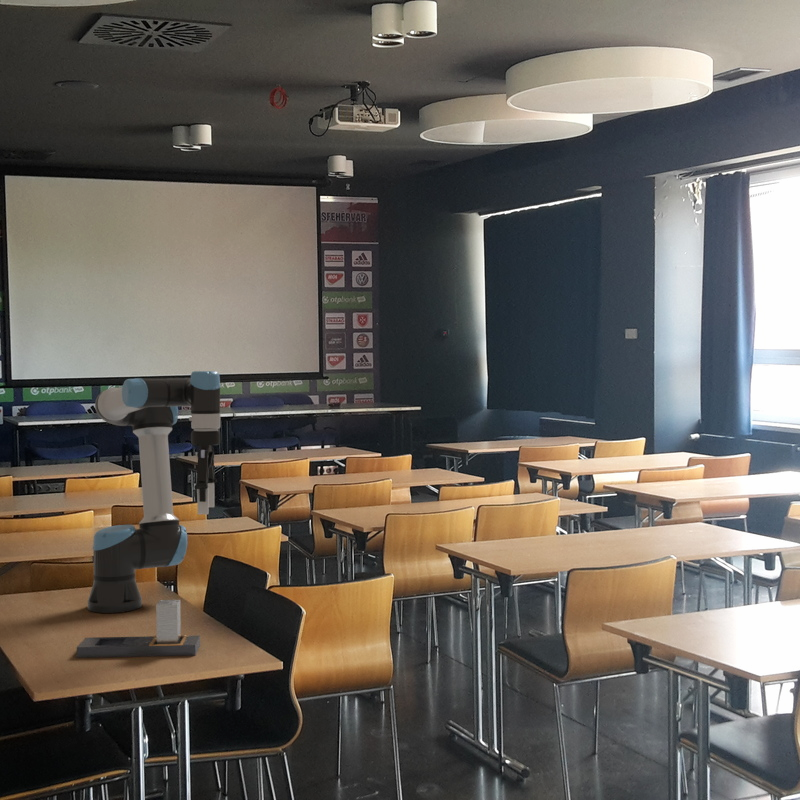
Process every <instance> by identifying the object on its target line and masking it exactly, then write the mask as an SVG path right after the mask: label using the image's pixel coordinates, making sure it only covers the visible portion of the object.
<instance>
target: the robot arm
mask: <svg viewBox="0 0 800 800" xmlns="http://www.w3.org/2000/svg"><path fill="white" fill-rule="evenodd" d="M221 384H222V383H221V378H220V373H219V372H218V371H215V370H212V371H211V370H198V371H197V370H194V371H192V372H191V373H190V377H185V378H180V377H179V378H177V377H175V378H172V377H171V378H170V377H169V378H141V377H135V378H127V379H125V380H124V382H123V384H122V386H119V387H109V388H107V389H104V390H103V391H101V392H100V393H99V394H98V395H97V397H96V399H95V403H94V406H95V412H96V413H97V416H98V417H99V418H100V419H102V420H103V421H104V422H106V423H107V424H112V425H114V426H119V427H120V426H121V427H127V426H128V427H130V426H131V427H132V434H134V435H135V436H136V437H137V438H138V447H139V449H138V450H139V461H140V478H141V492H142V493H141V495H142V508H143V518H142V519H141V520H140V521H139V523H138V526H139V528H137V529H136V527H135V525H134V524H119V525H111V526H107V527H104V528H102V529H99V530H98V531H97V532H95V533H94V536H93V541H92V542H93V543H92V544H93V545H92V552H93V584H92V586H91V590H90V593H89V596H88V599H87V610H88V611H89V612H92V613H101V614H105V613H106V614H115V613H125V611H126V612H131V611H135V610H137V609H140V608H141V607H143V606H142V605H143V603H142V602H143V601H142V595H141V592H140V590H139V587H138V584H137V581H136V571H137V570H143V569H155V568H163V567H164V568H167V567H172V566H177V565H179V564H181V563H182V562H183V560H184V559H185V556H186V554H187V549H188V548H187V547H188V533H187V529H186V527H185V525H181V524H180V519H179V518H178V517H177V516H176V515H175V514H174V507H173V506H174V505H173V503H174V502H173V493H172V492H173V491H172V479H171V478H172V477H171V463H170V451H169V435H170V433H171V432H172V431H173V426H174V425H175V424H177V421H178V418H179V417H178V415H179V408H178V407H190V414H191V415H190V416H189V418H188V420H189V422H190V423H191V424H190V425H191V429H193V430H192V431H191V432H190V440H191V442H190V443H191V445H192V446H199V447H200V448H199V449H198V450H197V470H196V471H197V472H196V484H195V485H194V486H193V487H194V488H193V489H194V490H197V493H196V494H197V500H196V501H197V503H196V504H197V515H209V510H210V509H209V508H215V483H217V482H218V478H216V474H215V473H216V472H215V451H214V449H215V448H214V446H218V445H220V444H221V431H220V430H219V429H220V428H221Z"/></svg>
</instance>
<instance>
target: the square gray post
mask: <svg viewBox="0 0 800 800" xmlns="http://www.w3.org/2000/svg"><path fill="white" fill-rule="evenodd" d="M155 605H156V607H155V608H156V610H155V611H156V615H155V616H156V635H157V644H180V643H181V635H182V634H181V632H182V631H181V629H182V628H181V599H160V600H158V602H157V603H156V604H155Z"/></svg>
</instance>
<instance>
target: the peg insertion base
mask: <svg viewBox="0 0 800 800" xmlns="http://www.w3.org/2000/svg"><path fill="white" fill-rule="evenodd" d="M200 647H201V635H200V634H199V635H188V634H181V643H180V644H157V634H156V635H152V636H104V637H103V636H101V637H100V636H99V637H96V636H95V637H92V636H91V637H85V638H84V639H83V640H82V641H81V642H80V643H79V644H78V645H77V646H76V659H77V658H78V659H80V658H81V659H82V658H84V659H85V658H87V659H89V658H128V657H131V658H133V657H177V656H178V657H179V656H180V657H181V656H196V655H197V653H198V651H199V648H200Z"/></svg>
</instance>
